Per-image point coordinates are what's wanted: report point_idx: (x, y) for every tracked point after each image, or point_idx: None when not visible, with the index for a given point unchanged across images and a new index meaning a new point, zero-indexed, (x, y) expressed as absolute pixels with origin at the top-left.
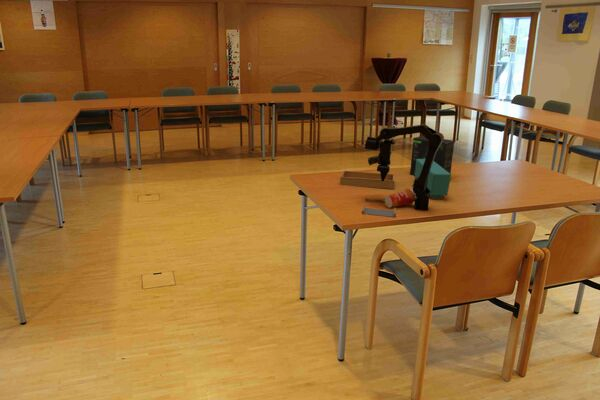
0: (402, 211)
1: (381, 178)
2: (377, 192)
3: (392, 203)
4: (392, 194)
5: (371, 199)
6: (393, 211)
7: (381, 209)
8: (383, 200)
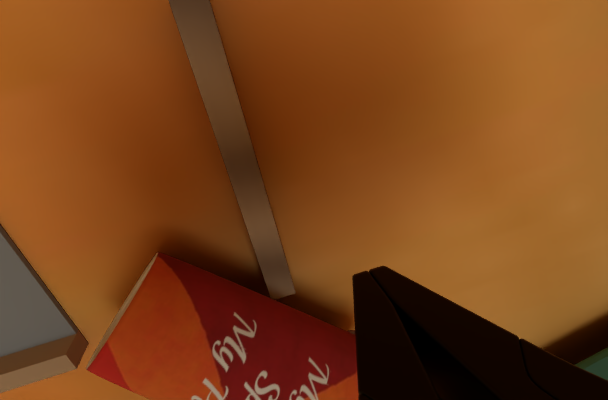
0: None
1: (356, 320)
2: (546, 41)
3: (100, 347)
4: (180, 369)
5: (198, 82)
6: (52, 340)
7: (16, 252)
8: (240, 207)
